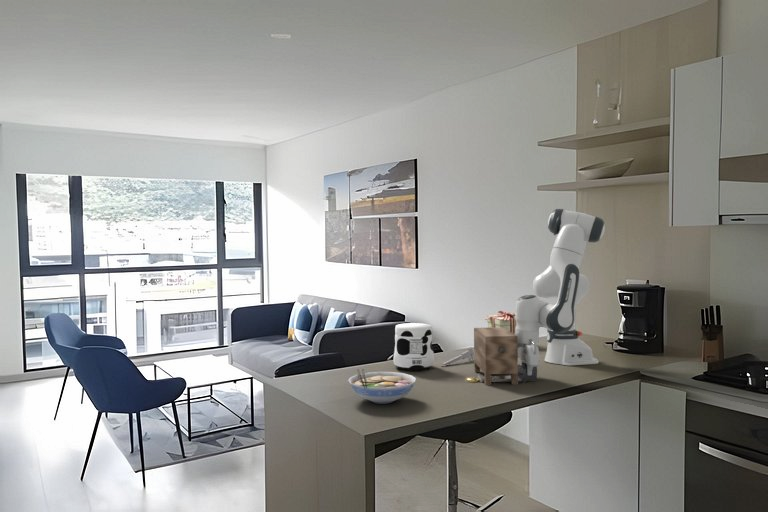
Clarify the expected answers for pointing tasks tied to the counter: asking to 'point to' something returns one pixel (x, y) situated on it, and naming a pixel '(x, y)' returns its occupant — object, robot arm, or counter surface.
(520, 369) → the scraper
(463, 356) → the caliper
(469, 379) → the token
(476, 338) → the cabinet
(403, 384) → the ramen bowl
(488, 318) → the gift box
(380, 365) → the counter surface
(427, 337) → the milk container
